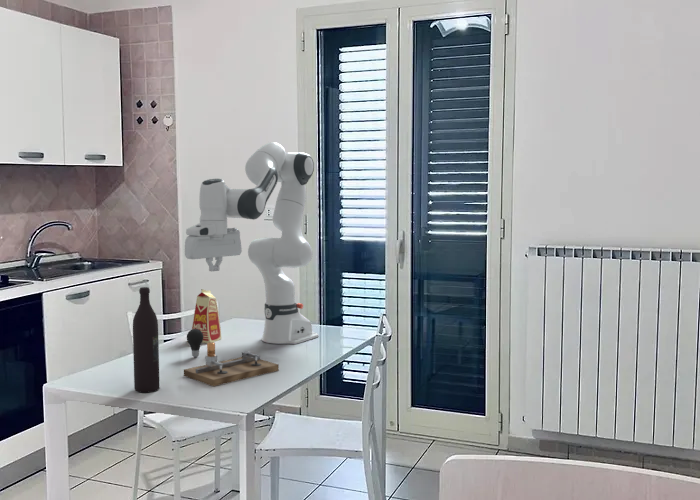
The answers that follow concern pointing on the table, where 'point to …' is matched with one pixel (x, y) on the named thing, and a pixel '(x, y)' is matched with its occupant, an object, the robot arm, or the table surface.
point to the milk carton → (207, 317)
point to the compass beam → (232, 362)
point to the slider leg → (212, 356)
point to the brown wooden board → (231, 372)
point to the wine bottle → (145, 346)
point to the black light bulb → (195, 341)
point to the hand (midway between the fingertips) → (214, 271)
